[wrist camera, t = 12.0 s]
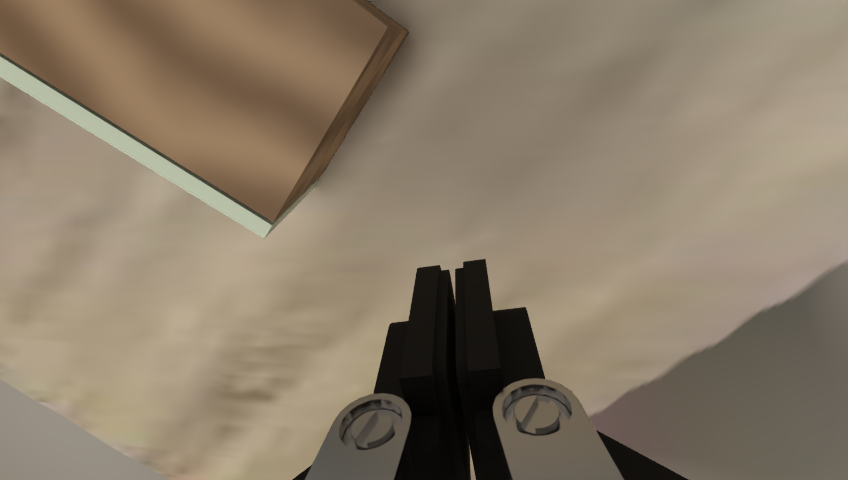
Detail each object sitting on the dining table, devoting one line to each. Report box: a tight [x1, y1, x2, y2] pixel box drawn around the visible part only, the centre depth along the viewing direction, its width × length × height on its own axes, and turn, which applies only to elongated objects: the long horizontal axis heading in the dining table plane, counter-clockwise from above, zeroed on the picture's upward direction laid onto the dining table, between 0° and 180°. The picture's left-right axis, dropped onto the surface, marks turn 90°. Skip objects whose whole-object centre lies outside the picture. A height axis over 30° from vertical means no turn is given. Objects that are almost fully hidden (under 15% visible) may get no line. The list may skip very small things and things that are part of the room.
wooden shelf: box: [0, 0, 409, 222], centre depth 30 cm, size 14×22×12 cm, turn 55°
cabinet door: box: [0, 53, 318, 239], centre depth 33 cm, size 2×22×11 cm, turn 55°
